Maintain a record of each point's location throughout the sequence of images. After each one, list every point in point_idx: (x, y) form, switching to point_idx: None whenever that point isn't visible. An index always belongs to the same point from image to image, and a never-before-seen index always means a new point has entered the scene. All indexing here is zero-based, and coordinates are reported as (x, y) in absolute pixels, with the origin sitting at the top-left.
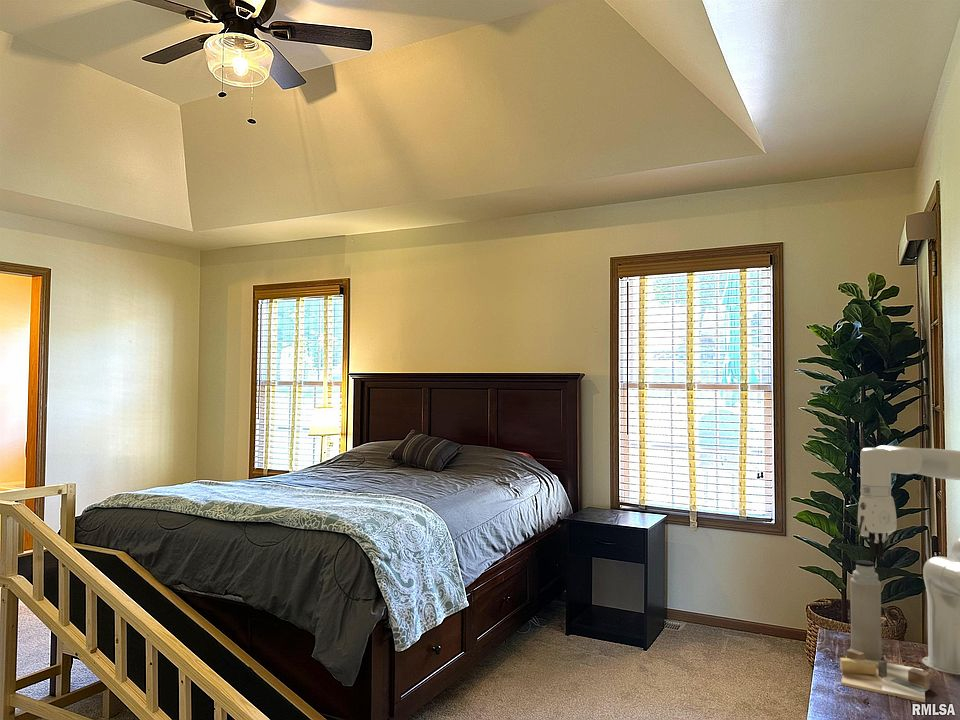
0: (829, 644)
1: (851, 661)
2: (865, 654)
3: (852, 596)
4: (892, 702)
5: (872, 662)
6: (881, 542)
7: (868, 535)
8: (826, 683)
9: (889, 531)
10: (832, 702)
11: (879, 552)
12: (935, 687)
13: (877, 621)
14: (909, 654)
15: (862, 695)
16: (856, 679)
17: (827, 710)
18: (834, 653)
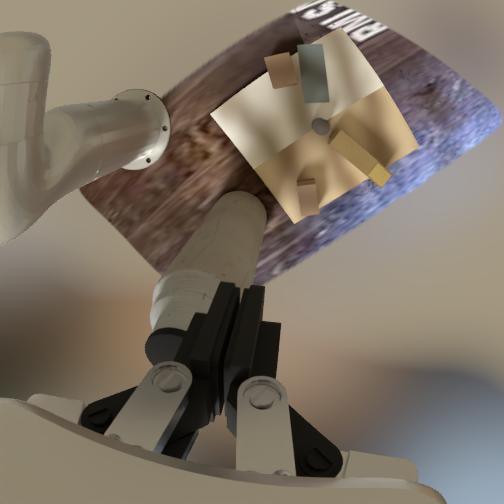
0: (256, 280)
1: (378, 163)
2: (260, 206)
3: None
4: (390, 61)
5: (338, 139)
6: (186, 375)
7: (353, 468)
8: (424, 168)
9: (81, 434)
10: (473, 120)
11: (261, 306)
12: (249, 62)
13: (223, 219)
14: (153, 190)
15: (413, 104)
16: (384, 139)
17: (497, 110)
18: (286, 250)
